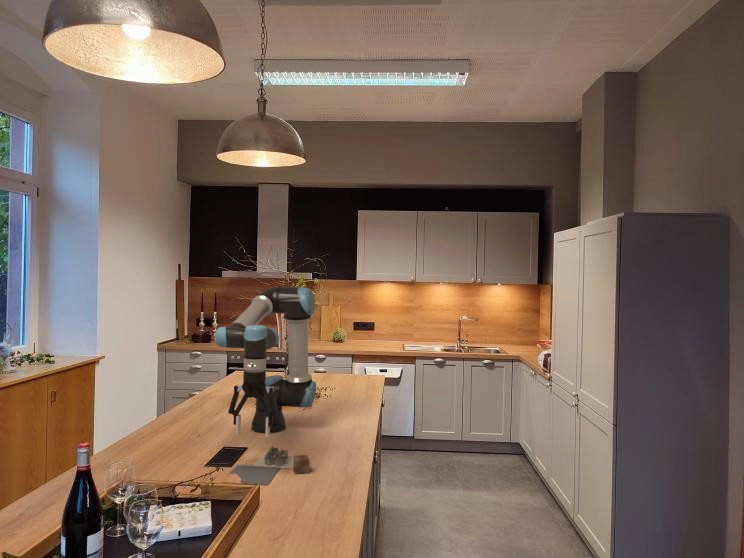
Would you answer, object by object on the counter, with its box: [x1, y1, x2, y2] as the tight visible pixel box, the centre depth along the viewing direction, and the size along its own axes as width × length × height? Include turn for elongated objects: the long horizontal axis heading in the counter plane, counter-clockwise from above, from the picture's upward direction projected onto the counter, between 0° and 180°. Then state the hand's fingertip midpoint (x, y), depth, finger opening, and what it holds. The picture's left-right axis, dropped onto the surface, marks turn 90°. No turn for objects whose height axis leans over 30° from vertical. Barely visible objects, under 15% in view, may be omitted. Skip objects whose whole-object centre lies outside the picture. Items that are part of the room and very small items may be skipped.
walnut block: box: [292, 454, 311, 476], centre depth 187 cm, size 5×5×5 cm
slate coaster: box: [227, 464, 282, 486], centre depth 182 cm, size 16×16×1 cm
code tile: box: [253, 454, 294, 470], centre depth 196 cm, size 14×12×1 cm
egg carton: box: [264, 445, 290, 466], centre depth 196 cm, size 11×8×4 cm
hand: (252, 435), depth 182 cm, fingers open, 10 cm apart
